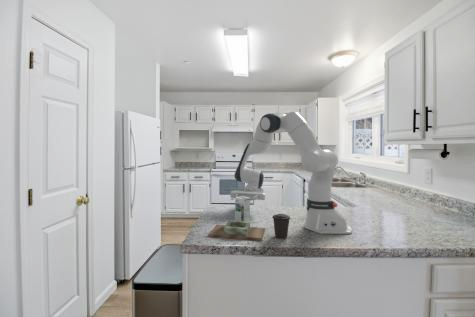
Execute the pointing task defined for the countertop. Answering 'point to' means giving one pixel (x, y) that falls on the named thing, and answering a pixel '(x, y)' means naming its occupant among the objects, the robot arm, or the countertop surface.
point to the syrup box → (242, 209)
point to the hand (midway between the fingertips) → (245, 197)
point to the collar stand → (237, 231)
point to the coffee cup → (281, 225)
